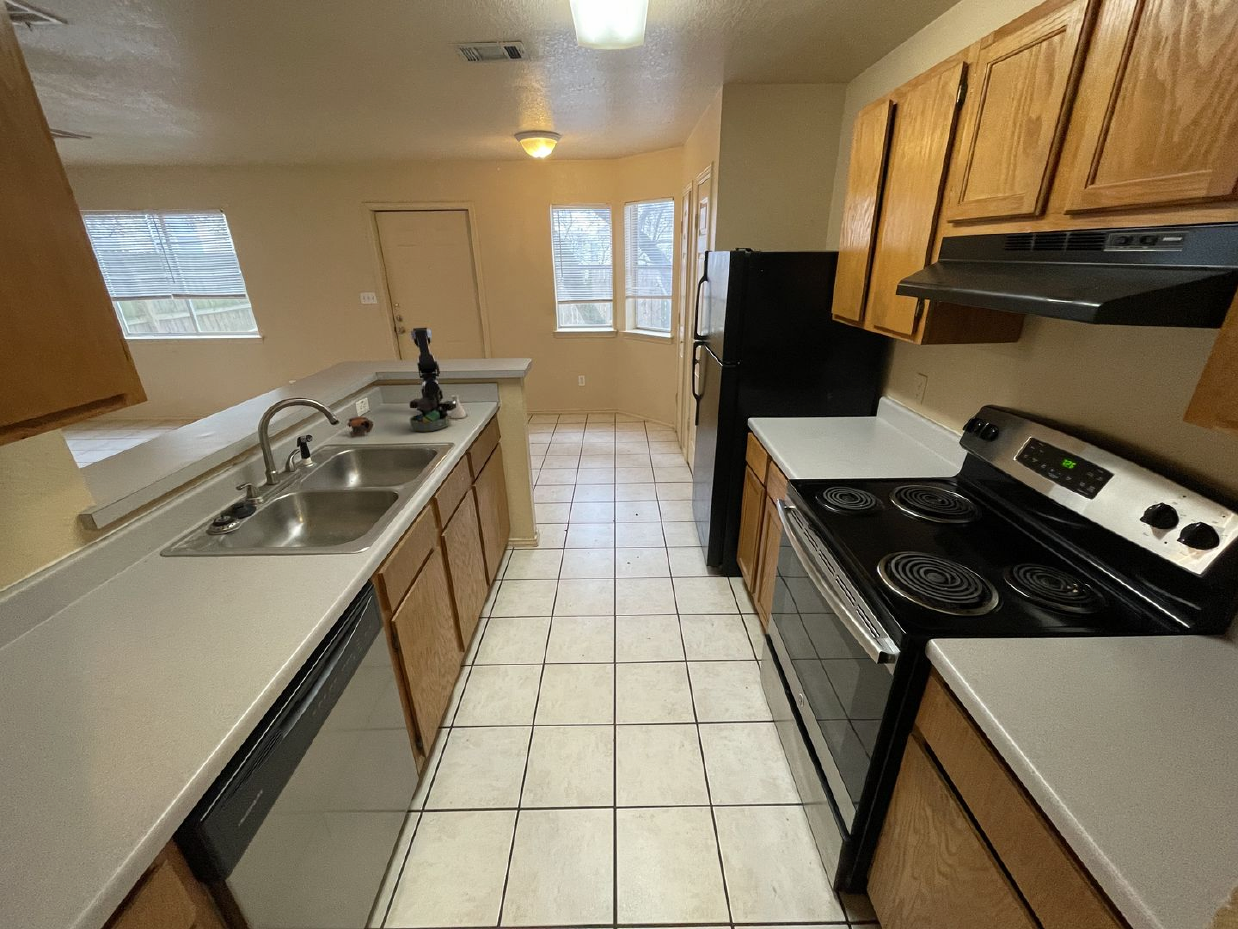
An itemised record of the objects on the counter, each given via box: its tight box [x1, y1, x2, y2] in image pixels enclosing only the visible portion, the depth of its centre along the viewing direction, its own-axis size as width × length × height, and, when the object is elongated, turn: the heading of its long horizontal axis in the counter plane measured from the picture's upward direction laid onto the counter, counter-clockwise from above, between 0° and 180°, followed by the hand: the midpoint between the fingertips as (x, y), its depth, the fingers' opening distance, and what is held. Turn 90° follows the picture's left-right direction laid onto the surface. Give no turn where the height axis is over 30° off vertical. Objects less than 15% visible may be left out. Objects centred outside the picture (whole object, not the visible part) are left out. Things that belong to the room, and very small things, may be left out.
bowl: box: [409, 412, 451, 433], centre depth 221 cm, size 16×16×4 cm
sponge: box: [423, 410, 446, 422], centre depth 220 cm, size 9×6×3 cm, turn 173°
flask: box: [450, 394, 467, 419], centre depth 233 cm, size 7×7×10 cm
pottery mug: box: [346, 416, 374, 438], centre depth 215 cm, size 12×10×8 cm
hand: (435, 423), depth 221 cm, fingers closed on sponge, 6 cm apart
